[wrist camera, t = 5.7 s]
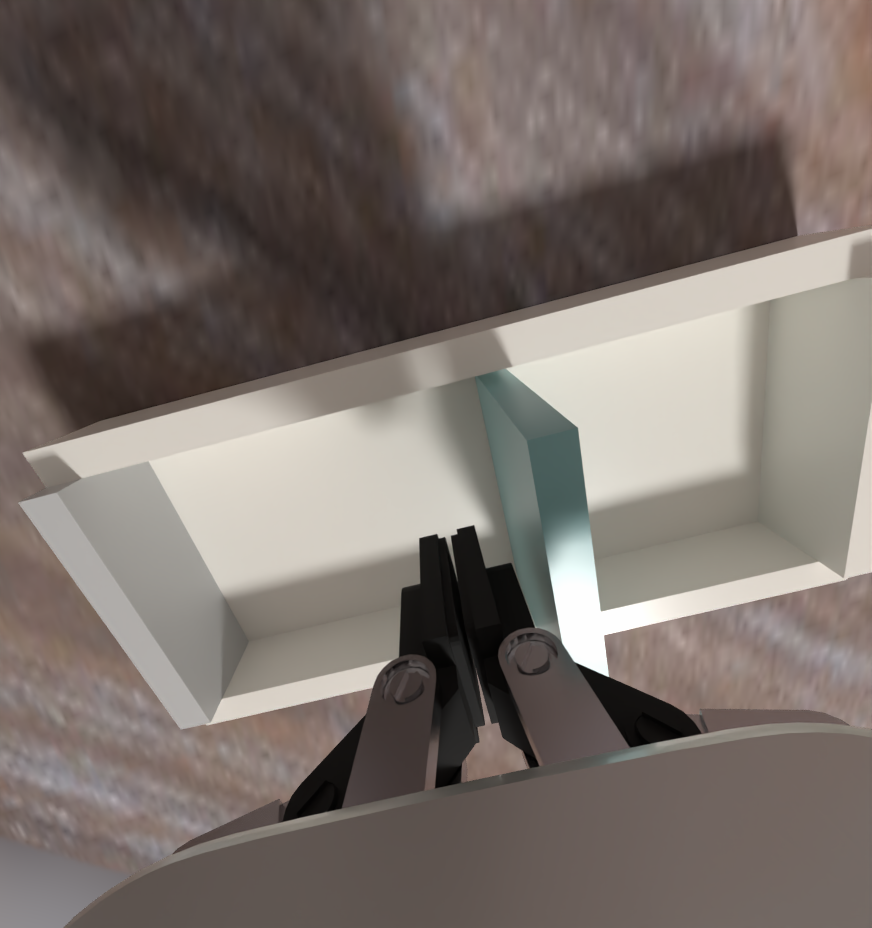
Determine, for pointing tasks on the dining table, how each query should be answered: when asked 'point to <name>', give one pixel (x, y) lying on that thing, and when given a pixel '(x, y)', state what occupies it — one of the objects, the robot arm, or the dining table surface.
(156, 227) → the dining table surface
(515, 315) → the white divided tray
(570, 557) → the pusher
